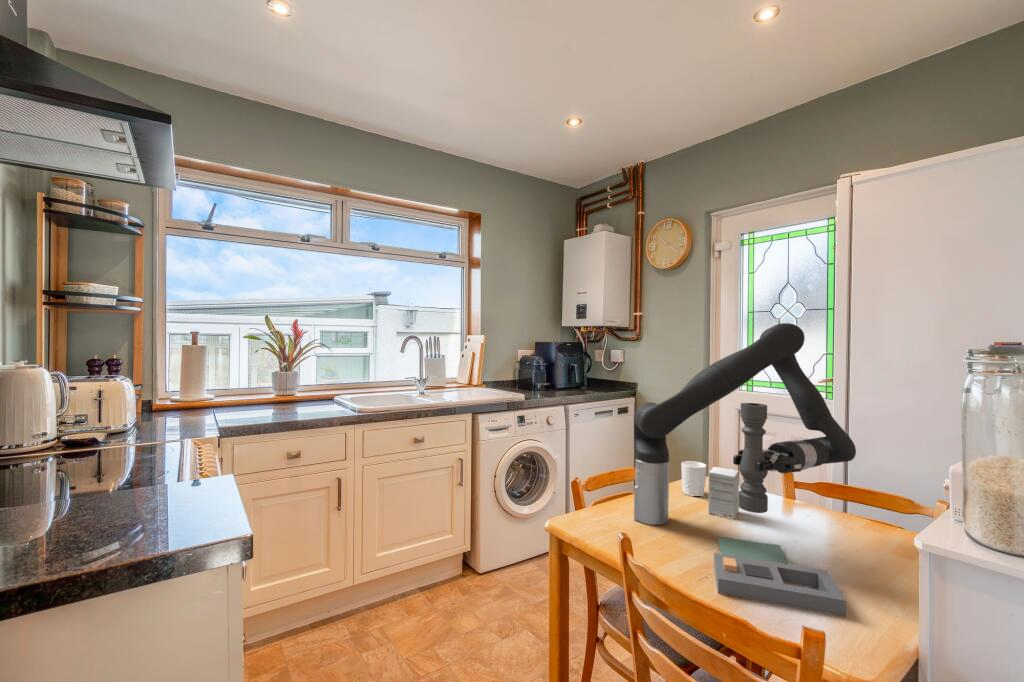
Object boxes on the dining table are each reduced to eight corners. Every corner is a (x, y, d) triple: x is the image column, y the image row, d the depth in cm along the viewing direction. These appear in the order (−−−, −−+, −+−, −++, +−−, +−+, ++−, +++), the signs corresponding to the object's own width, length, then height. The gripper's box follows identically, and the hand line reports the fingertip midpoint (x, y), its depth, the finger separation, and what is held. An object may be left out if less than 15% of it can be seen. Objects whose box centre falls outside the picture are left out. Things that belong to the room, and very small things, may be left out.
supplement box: (713, 506, 142) (713, 466, 142) (739, 512, 138) (739, 470, 138) (707, 513, 136) (707, 471, 136) (734, 519, 132) (735, 476, 132)
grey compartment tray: (718, 593, 94) (718, 572, 94) (713, 565, 105) (714, 547, 105) (845, 616, 86) (846, 594, 86) (826, 584, 97) (826, 564, 97)
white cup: (676, 490, 157) (677, 461, 157) (698, 489, 158) (699, 460, 158) (687, 498, 149) (687, 467, 149) (710, 497, 150) (711, 467, 150)
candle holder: (771, 513, 106) (772, 406, 106) (742, 511, 108) (743, 406, 107) (762, 504, 113) (763, 403, 112) (735, 502, 114) (736, 402, 114)
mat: (722, 561, 107) (722, 557, 107) (718, 540, 118) (718, 536, 118) (790, 572, 102) (791, 568, 102) (779, 549, 113) (779, 545, 113)
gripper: (765, 435, 122) (720, 441, 115) (821, 447, 109) (774, 455, 102) (765, 463, 123) (720, 471, 115) (821, 478, 110) (774, 488, 102)
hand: (746, 463), depth 109 cm, fingers closed on candle holder, 5 cm apart
